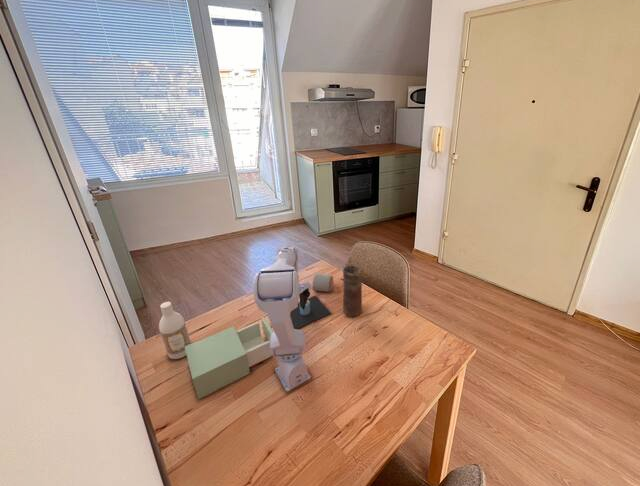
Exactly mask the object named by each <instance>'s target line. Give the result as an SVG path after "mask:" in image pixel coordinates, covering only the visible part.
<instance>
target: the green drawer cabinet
mask: <svg viewBox="0 0 640 486" xmlns="http://www.w3.org/2000/svg"><path fill="white" fill-rule="evenodd" d="M236 331H237V329H236V328H235V326H231V327H229V328H226V329H224V330H221V331H219V332H216V333H214V334H212V335H208V336H207V337H204V338H202V339H200V340H197V341H194V342H191V344H189V345H187V346H185V351H186V360H187V362H188V367H189V371H190V375H191V379H192V382H193V385H194V389H195V392H196V396H197V398H198V400H200V399H203V398H204V397H206V396H209V395H210V394H212V393H214V392H216V391H218V390H220V389H222V388H224V387H226V386H227V385H228V386H229V385H230V384H232V383H234V382H236V381H238V380H240V379H242V378H244V377H246V376H248V375H250V374H251V372H250V371H251V370H250V367H249V365H248V360H247V354H246V352H245V350H244V347H243V345H242V343H241V341H240V339H239V337H238V335H237V332H236Z"/></svg>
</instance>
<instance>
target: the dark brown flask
mask: <svg viewBox="0 0 640 486" xmlns="http://www.w3.org/2000/svg"><path fill="white" fill-rule="evenodd" d="M342 276H343V277H342V278H343V279H342V282H343V283H342V285H343V286H342V292H343V295H342V296H343V297H342V298H343V299H342V301H343V302H342V303H343V304H342V305H343V312H344V314H345V315H346V316H347V317H349V318H352V317H353V318H354V317H357V316H358V315H360V314H361V313H362V311H363V310H362V306H363V305H362V304H363V303H362V302H363V301H362V300H363V299H362V298H363V297H362V296H363V295H362V294H363V292H362V291H363V290H362V289H363V286H362V285H363V282H362V281H363V271H362V269H361V268H360V267H358V266H357V265H347V266H345V267H343V269H342Z"/></svg>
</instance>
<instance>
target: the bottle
mask: <svg viewBox="0 0 640 486" xmlns="http://www.w3.org/2000/svg"><path fill="white" fill-rule="evenodd" d="M299 304H300V303H299ZM300 313H301V314H302V315H307V314H309V313H310V301H309V300H307V302H306V305H305V309H302V308H301V307H300Z"/></svg>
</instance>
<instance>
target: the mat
mask: <svg viewBox="0 0 640 486" xmlns="http://www.w3.org/2000/svg"><path fill="white" fill-rule="evenodd" d="M307 300H309V301H310V313H309V314H307V315H302V314H301V313H300V304H299V303H300V301H299V303H298V307H297V308H295V309H294V310H292V311H291V313H290V317H291V320H292V324H293V328H294V329H298V330H300V329H302V328H304V327H305V326H308V325H310V324H312V323H314V322H316V321H318V320H319V321H320V320H321V319H323V318H325V317H327V316H330V315H331V314H332V313H331V311H330V310H329V309H328V308H327V307H326V306H325V304H323V303H322V301H320V299H319V298H318V297H317V296H316V295H313V296H311V297H308V299H307Z"/></svg>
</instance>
